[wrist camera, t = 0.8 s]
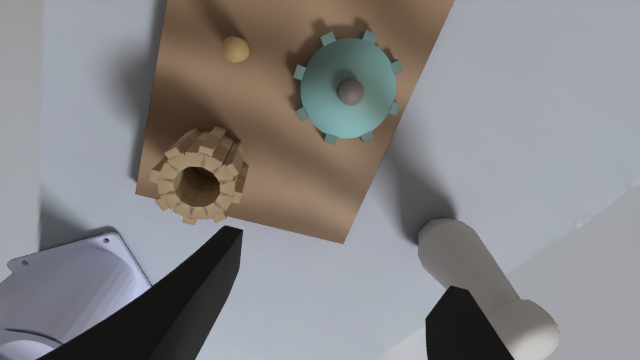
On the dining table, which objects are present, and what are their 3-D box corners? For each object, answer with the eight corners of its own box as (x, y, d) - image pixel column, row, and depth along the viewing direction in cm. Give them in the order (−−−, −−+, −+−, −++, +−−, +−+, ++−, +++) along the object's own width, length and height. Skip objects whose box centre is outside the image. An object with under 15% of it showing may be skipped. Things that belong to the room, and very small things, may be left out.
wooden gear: (201, 203, 25) (184, 237, 20) (159, 145, 23) (129, 170, 18) (261, 174, 25) (257, 203, 20) (224, 113, 22) (210, 129, 18)
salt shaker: (443, 264, 32) (539, 387, 21) (399, 250, 31) (474, 374, 19) (474, 219, 31) (597, 326, 19) (428, 202, 29) (531, 306, 17)
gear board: (340, 236, 29) (351, 268, 25) (141, 187, 25) (113, 216, 21) (479, -73, 21) (532, -104, 16) (212, -232, 16) (189, -331, 12)
